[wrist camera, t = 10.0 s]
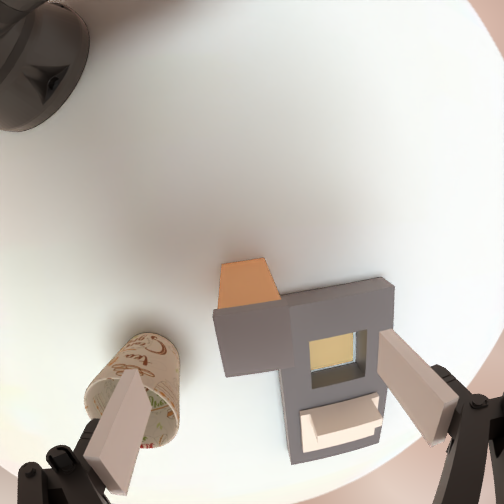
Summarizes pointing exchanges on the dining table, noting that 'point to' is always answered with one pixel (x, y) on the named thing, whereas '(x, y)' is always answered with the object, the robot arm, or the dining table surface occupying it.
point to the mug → (154, 380)
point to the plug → (252, 320)
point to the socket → (334, 355)
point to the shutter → (339, 422)
